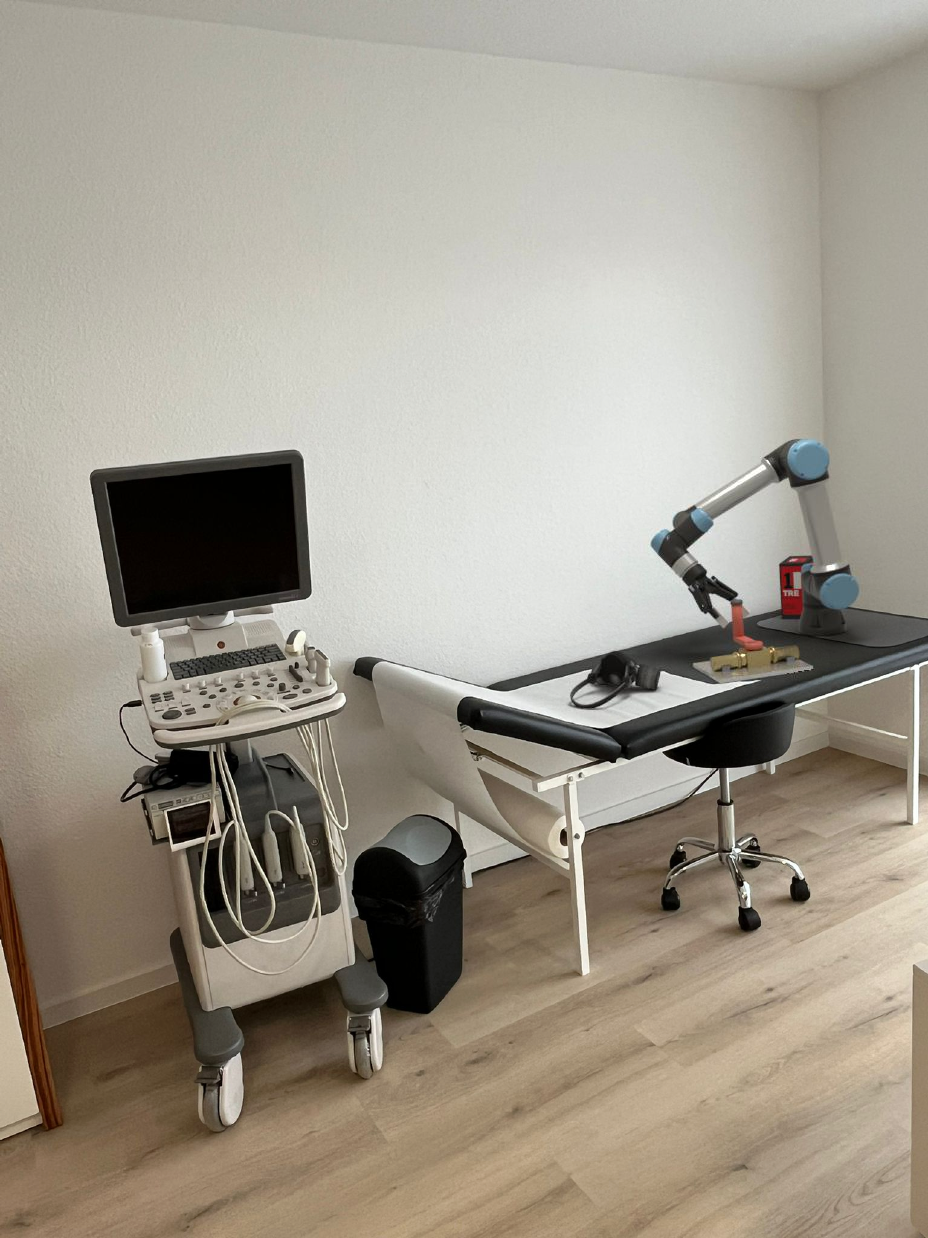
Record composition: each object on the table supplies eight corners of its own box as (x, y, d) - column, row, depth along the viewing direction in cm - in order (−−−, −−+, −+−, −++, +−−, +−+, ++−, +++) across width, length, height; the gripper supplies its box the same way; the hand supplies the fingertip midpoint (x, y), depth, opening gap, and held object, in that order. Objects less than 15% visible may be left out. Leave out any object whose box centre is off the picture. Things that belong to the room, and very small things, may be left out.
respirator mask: (670, 674, 282) (647, 639, 272) (640, 744, 271) (615, 711, 261) (605, 668, 297) (581, 634, 287) (574, 734, 287) (548, 702, 276)
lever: (765, 648, 286) (763, 606, 284) (749, 650, 286) (747, 608, 283) (744, 638, 301) (741, 598, 299) (728, 640, 300) (726, 600, 298)
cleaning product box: (792, 609, 362) (789, 556, 358) (817, 609, 358) (814, 555, 354) (781, 619, 348) (779, 563, 345) (807, 619, 344) (805, 563, 340)
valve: (779, 654, 302) (778, 635, 301) (812, 669, 281) (812, 649, 280) (693, 667, 298) (691, 648, 297) (720, 683, 278) (719, 663, 277)
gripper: (702, 571, 316) (748, 619, 309) (662, 586, 298) (709, 637, 291) (716, 555, 311) (763, 603, 304) (676, 569, 293) (725, 621, 286)
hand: (737, 620), depth 297 cm, fingers open, 13 cm apart
